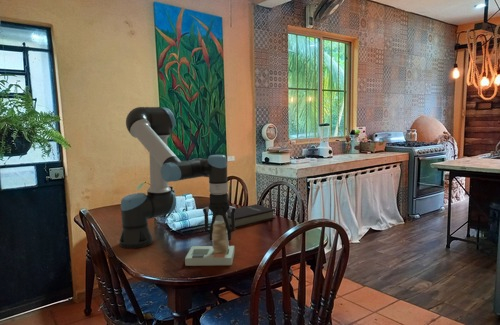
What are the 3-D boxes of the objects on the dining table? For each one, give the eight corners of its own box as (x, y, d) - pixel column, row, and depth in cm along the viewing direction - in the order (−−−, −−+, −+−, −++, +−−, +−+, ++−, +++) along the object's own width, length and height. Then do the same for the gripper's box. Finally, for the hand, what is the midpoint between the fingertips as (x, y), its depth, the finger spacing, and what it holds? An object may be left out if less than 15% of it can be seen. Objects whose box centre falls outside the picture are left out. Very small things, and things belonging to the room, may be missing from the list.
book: (254, 212, 218) (254, 203, 217) (275, 219, 202) (275, 209, 201) (216, 221, 201) (216, 211, 200) (235, 229, 186) (235, 218, 185)
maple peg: (214, 257, 142) (212, 224, 141) (215, 253, 147) (214, 220, 146) (226, 257, 142) (225, 224, 140) (227, 252, 147) (226, 220, 145)
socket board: (185, 265, 139) (184, 256, 138) (192, 252, 152) (191, 244, 152) (231, 265, 138) (231, 256, 137) (234, 252, 151) (234, 244, 151)
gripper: (195, 195, 138) (197, 251, 141) (240, 194, 137) (241, 250, 140) (198, 191, 146) (200, 244, 148) (241, 190, 145) (242, 244, 148)
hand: (220, 247), depth 144 cm, fingers closed on maple peg, 5 cm apart
